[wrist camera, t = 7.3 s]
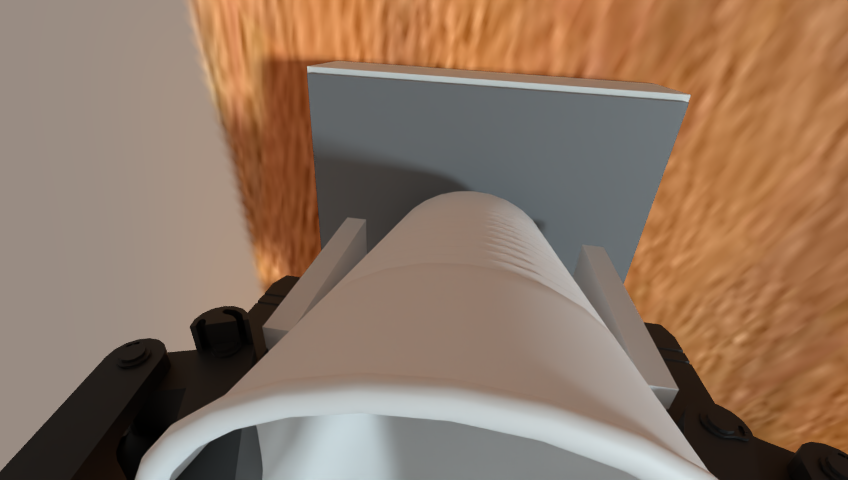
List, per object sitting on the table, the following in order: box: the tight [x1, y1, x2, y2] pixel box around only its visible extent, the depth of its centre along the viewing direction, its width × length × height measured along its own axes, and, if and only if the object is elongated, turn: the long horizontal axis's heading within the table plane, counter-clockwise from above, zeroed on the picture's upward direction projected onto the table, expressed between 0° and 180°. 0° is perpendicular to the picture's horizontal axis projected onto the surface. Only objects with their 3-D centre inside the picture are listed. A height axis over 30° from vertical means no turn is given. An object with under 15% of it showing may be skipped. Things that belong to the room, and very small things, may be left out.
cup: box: [135, 191, 718, 480], centre depth 11 cm, size 10×10×11 cm
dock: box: [307, 61, 691, 284], centre depth 18 cm, size 14×14×6 cm
